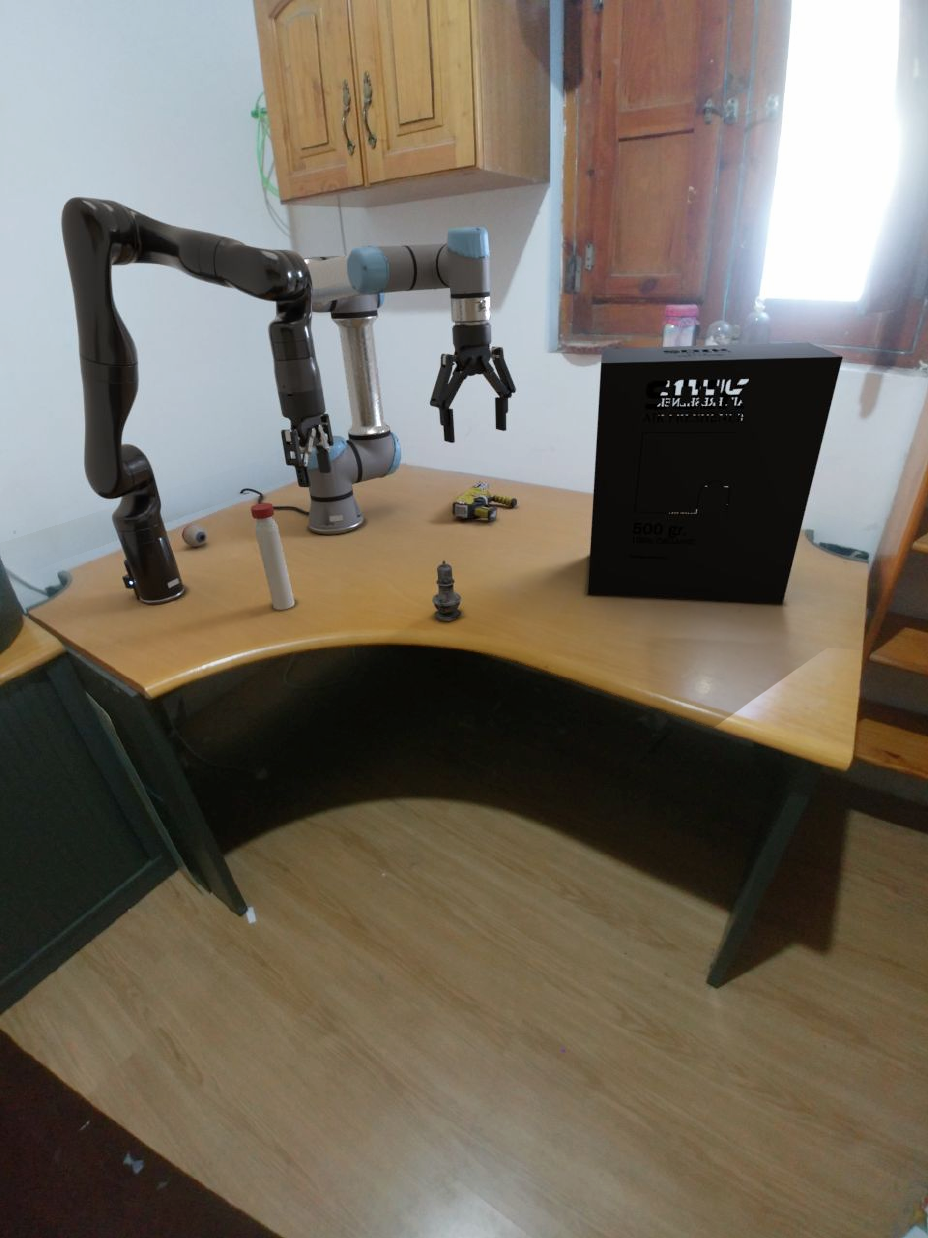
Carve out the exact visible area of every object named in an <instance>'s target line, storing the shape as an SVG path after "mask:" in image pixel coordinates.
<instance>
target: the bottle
mask: <svg viewBox="0 0 928 1238" xmlns="http://www.w3.org/2000/svg"><path fill="white" fill-rule="evenodd" d="M254 531H255V535H256V539H257V544H258V548H259V552H260V557H261V560H262V566H263V569H264V573H265V578H266V582H267V585H268V589H269V590H268V591H269V594H270V598H271V602H272V606H273V609H275V610H278V611H284V610H289V609H290V608H292V607H294V606H295V604H296V603H295V598H294V594H293V590H292V584H291V580H290V576H289V570H288V566H287V562H286V557H285V553H284V548H283V544H282V540H281V539H282V538H281V534H280V530H279V526H278V523H277V522H276V520H275V519H274V518H273V516H271V517H268V518H264V519H256V520H255V525H254Z"/></svg>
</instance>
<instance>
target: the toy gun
mask: <svg viewBox="0 0 928 1238" xmlns="http://www.w3.org/2000/svg"><path fill="white" fill-rule="evenodd" d="M489 485H490V484H489V482H487V481H484V482H483V481H482V480H480V481H478V483H476V484H475V485H474V486H473V485H472V486H471V487H470V488H469V489H468V490H466V491H465V492H464V493H463V494H462V495H460V497H458V498H457V499H456V500H454V502H453V503H452V504H451V515H452V516H453V517H456V518H457V519H460V520H463V519H471V518H476V517H481V518H484V519H487V522H488V523H490V522H492V521H494V520H496V519H497V515H498V514H497V513H498V506H495V505H494V506H492V507H491V506H490V505H489V504H490V503H492V502H493V503H495V504H496V503H498V504H501V505H505V506H509V507H512V508H515V507H516V506H517V505H518V499H517V498H516V497H509V496H504V495H499V494H497V493H496V494H494V495H491V493H490V492H489V490H487V489H488V488H489Z"/></svg>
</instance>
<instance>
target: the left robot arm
mask: <svg viewBox="0 0 928 1238" xmlns="http://www.w3.org/2000/svg"><path fill="white" fill-rule="evenodd" d="M60 217H61V218H60V225H61V235H62V241H63V247H64V253H65V257H66V258H65V259H66V262H67V263H66V264H67V268H68V273H69V277H70V278H69V279H70V282H71V289H72V295H73V303H74V311H75V320H76V327H77V336H78V337H77V338H78V357H79V366H80V367H79V368H80V374H81V383H82V395H83V410H84V411H83V412H84V413H83V414H84V447H83V448H84V449H83V450H84V451H83V452H84V453H83V467H84V473H85V477H86V480H87V483H88V485H89V486H90V488H91V489H92V491H93V492H94V493H95V494H96V495H97V496H99V497H101V498H103V499H106V500H115V499H119V498H120V501H119V504H118V506H117V507H116V508H115V510H113V512H112V515H111V521H112V524H113V526H114V530H115V532H116V534H117V537H118V540H119V543H120V545H121V549H122V551H123V554H124V556H125V559H124V560H123V565H124V568H125V570H126V574H124V576H123V575H122V578H121V579H122V582H123V584H124V587H125V589H128V590H133V592H134V594H135V598H136V600H137V601H140V602H141V603H143V604H145V605H161V604H165V603H169V602H172V601H174V600H177V599H178V598H181V596H183V595H184V594H185V592H186V587H185V584H184V583H183V580H182V576H181V573H180V570H179V567H178V564H177V560H176V557H175V554H174V551H173V548H172V545H171V541H170V539H169V536H168V533H167V530H166V526H165V523H164V519H163V517H162V514H161V513H162V511H161V510H162V500H161V496H160V492H159V488H158V484H157V480H156V476H155V474H154V470H153V467H152V464H151V463H150V460H149V459H148V456H147V455H146V454H145V453H144V451H142V449H140V448H139V447H137V446H136V445H134V444H131V443H122V442H123V435H124V434H123V433H124V428H125V425H126V423H127V420H128V418H129V415H130V413H131V411H132V408H133V406H134V403H135V402H136V399H137V395H138V392H139V386H140V374H139V373H140V372H139V370H140V369H139V353H138V349H137V346H136V343H135V341H134V339H133V337H132V334H131V333H130V330H129V329H128V327H127V325H126V324H125V322H124V320H123V319H122V317H121V315H120V312H119V311H118V308H117V305H116V302H115V297H114V292H113V291H114V289H113V275H112V273H113V271H112V270H113V266H115V267H116V266H128V265H131V264H144V265H147V264H148V265H160V266H165V267H169V268H172V269H174V270H177V271H179V272H181V273H183V274H184V275H186V276H188V277H191V278H193V279H195V280H198V281H202V282H204V283H207V284H212V285H216V286H220V287H224V288H228V289H234V290H237V291H239V292H241V293H243V294H246V295H247V296H249V297H252V298H255V299H258V300H262V301H267V302H271V303H275V317H274V318H273V319H272V320H271V321H270V322H269V323H268V325H267V334H268V341H269V345H270V350H271V356H272V362H273V374H274V379H275V386H276V391H277V395H278V401H279V406H280V411H281V415H282V417H284V418H285V419H288V420H289V421H290V428H289V429H281V431H280V435H281V441H282V448H283V454H284V459H285V460H284V461H285V464H286V466H291V467H294V470H295V474H296V480H297V485H298V487H300V488H309V487H310V486H311V479H310V473H309V468H308V466H307V463H308V456H309V455H310V454H311V453H312V448H313V447H314V448H315V450H316V451H317V452H318V453H316V455H317V460H318V466H319V471H320V472H321V473H329V472H331V464H330V458H329V453H328V452H330V446H333V445H334V442H333V436H334V435H333V432H332V431H333V430H332V426H331V421H330V420H331V419H330V415H329V413H326V411H327V409H326V402H325V396H324V390H323V384H322V383H323V382H322V376H321V370H320V367H319V364H318V360H317V355H316V348H315V342H314V336H313V332H312V322H313V312H312V305H313V286H312V279H311V274H310V271H309V269H308V266H307V264H306V262H305V261H304V258H303V256H302V255H300V254H299V253H298V252H296V251H293V250H291V249H271V248H263V247H256V246H251V245H247V244H246V243H244V242H242V241H240V240H238V239H235V238H233V237H228V236H225V235H224V236H223V235H221V234H220V235H219V234H215V233H213V232H212V233H211V232H207V231H206V232H205V231H202V230H197V229H192V228H186V227H181V226H176V225H172V224H169V223H167V222H163V221H160V220H158V219H155V218H153V217H150V216H148V215H146V214H145V213H143V212H139V211H137V210H135V209H134V208H131V207H128V206H126V205H124V204H122V203H120V202H117V201H115V200H112V199H103V198H102V199H101V198H94V197H85V196H74V197H71V198H69V199H68V200H67V201H66V202H65V204H64V205H63V208H62V210H61V216H60ZM327 437H328V438H327ZM291 452H292V453H291Z"/></svg>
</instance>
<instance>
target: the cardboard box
mask: <svg viewBox="0 0 928 1238" xmlns="http://www.w3.org/2000/svg"><path fill="white" fill-rule="evenodd" d="M843 358H844V356H842V355H840V354H838V353H835V352H832V351H830V350H828V349H825V348H824V347H823V348H822V347H820V346H818V345H815V344H813V343H810V342H777V343H776V342H775V343H774V342H773V343H744V344H743V343H741V344H716V345H715V344H713V345H711V344H709V345H684V346H683V345H679V346H676V345H675V346H650V347H649V346H648V347H647V346H646V347H617V348H616V347H615V348H614V347H613V348H602V349H601V359H600V373H599V374H600V375H599V389H598V390H599V391H598V392H599V393H598V408H597V411H598V412H597V426H596V442H595V457H594V459H595V461H594V477H593V478H594V479H593V496H592V512H591V527H590V547H589V561H588V562H589V563H588V579H587V580H588V581H587V595H588V596H589V595H590V596H610V597H631V598H649V599H650V598H651V599H667V600H687V601H688V600H689V601H707V602H708V601H709V602H728V603H729V602H730V603H746V604H747V603H751V604H768V605H783V604H784V601H785V597H786V591H787V588H788V583H789V580H790V575H791V573H792V567H793V563H794V558H795V555H796V551H797V547H798V543H799V537H800V534H801V530H802V526H803V522H804V517H805V514H806V509H807V506H808V501H809V497H810V495H811V494H810V493H811V489H812V486H813V481H814V477H815V472H816V469H817V464H818V460H819V455H820V452H821V448H822V445H823V440H824V435H825V432H826V428H827V423H828V420H829V415H830V411H831V407H832V403H833V399H834V395H835V391H836V386H837V382H838V378H839V374H840V370H841V366H842V362H843ZM742 380H747V381H746V382H745V383H743V384H742V383H741V384H739V383H740V382H741V381H742ZM679 381H682V385H681V388H680V394H676V393H677V392H676V391H677V382H679ZM690 381H695V383H694V386H693V385H690ZM705 381H707V384H706V385H704V384H705ZM728 382H729V388H728V391H729V392H734V390H740V391H739V392H738V393H736V394H735V393H733V394H731V393H730V394H729V393H727V390H726V388H727V384H728ZM693 389H694V390H697V393H696V394H693ZM707 390H708V391H713V394H707ZM663 393H666V394H663Z"/></svg>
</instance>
